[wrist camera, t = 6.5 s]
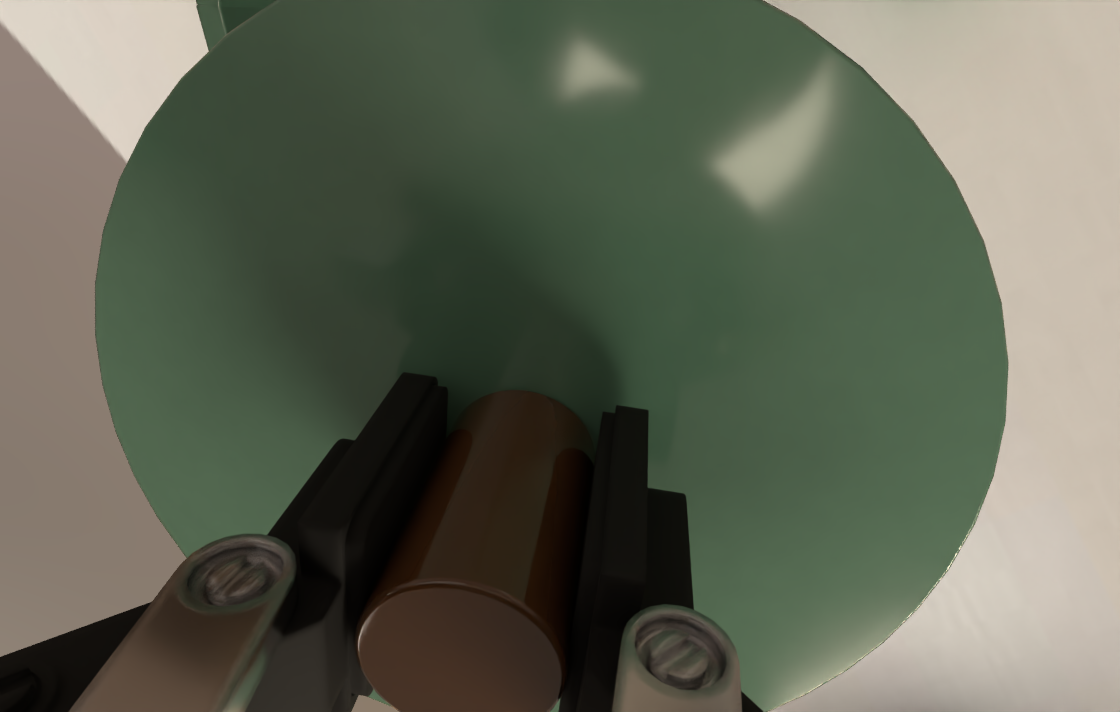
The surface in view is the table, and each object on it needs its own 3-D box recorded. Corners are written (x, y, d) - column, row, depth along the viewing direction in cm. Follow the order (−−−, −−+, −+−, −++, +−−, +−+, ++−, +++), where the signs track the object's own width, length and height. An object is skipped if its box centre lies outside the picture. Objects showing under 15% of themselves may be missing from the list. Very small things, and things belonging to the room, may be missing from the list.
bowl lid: (53, -115, 10) (-523, -241, 5) (1162, 14, 9) (1755, 13, 4) (191, 639, 17) (2, 894, 12) (831, 755, 16) (909, 1083, 11)
